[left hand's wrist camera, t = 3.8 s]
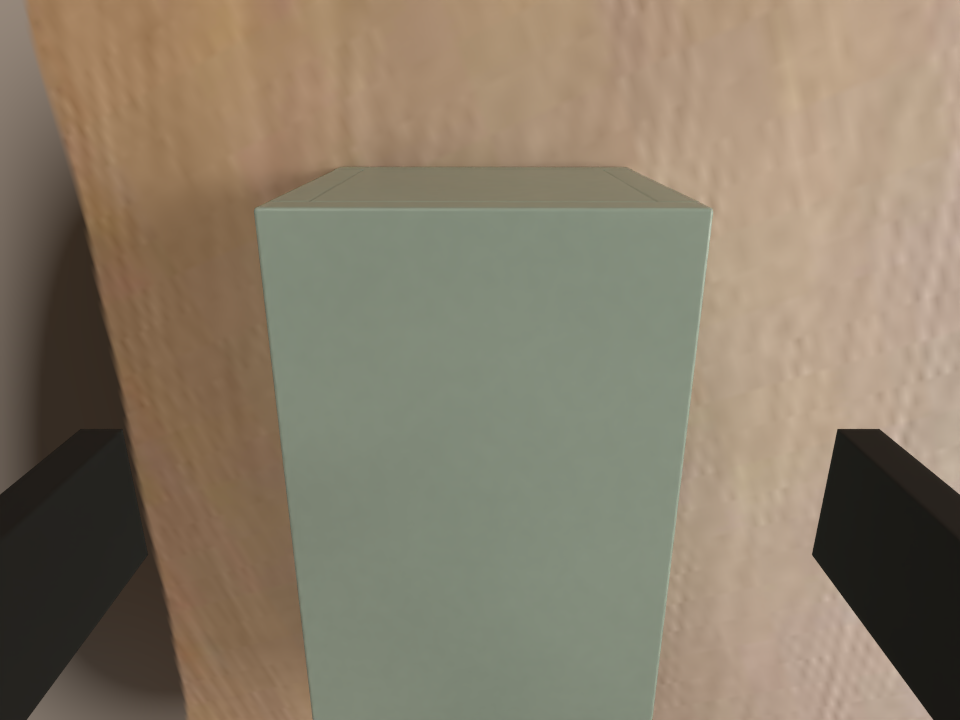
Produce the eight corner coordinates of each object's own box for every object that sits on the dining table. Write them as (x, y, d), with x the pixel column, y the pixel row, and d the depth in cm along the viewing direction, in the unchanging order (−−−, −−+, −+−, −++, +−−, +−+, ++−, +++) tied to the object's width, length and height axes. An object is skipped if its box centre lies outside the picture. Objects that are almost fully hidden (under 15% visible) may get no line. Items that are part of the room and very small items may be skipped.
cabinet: (593, 622, 32) (638, 838, 23) (371, 622, 32) (325, 837, 23) (627, 166, 25) (715, 208, 15) (339, 166, 25) (252, 207, 15)
